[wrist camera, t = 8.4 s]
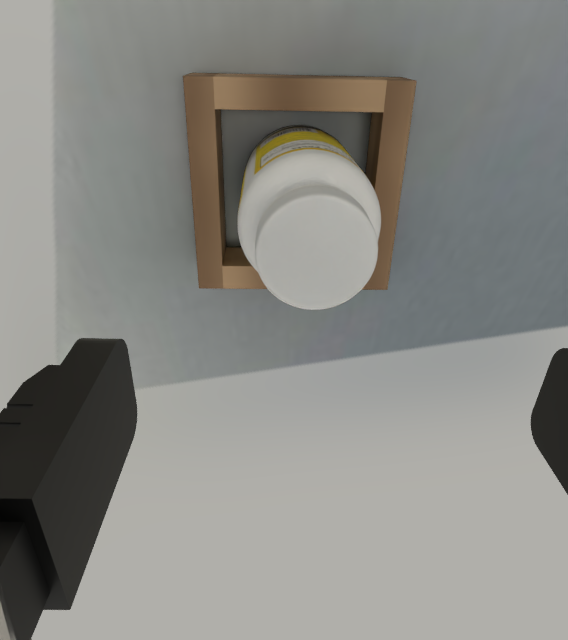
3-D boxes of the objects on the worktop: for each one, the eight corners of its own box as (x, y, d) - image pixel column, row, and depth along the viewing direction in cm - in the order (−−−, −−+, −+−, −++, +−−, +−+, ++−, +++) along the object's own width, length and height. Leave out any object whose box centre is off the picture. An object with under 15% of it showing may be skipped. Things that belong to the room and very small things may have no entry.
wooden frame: (402, 77, 22) (416, 80, 19) (377, 269, 26) (387, 289, 24) (192, 72, 21) (182, 75, 19) (205, 268, 26) (199, 288, 24)
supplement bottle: (310, 252, 26) (330, 354, 17) (223, 195, 24) (198, 277, 16) (375, 166, 24) (435, 235, 15) (285, 98, 22) (293, 131, 13)
